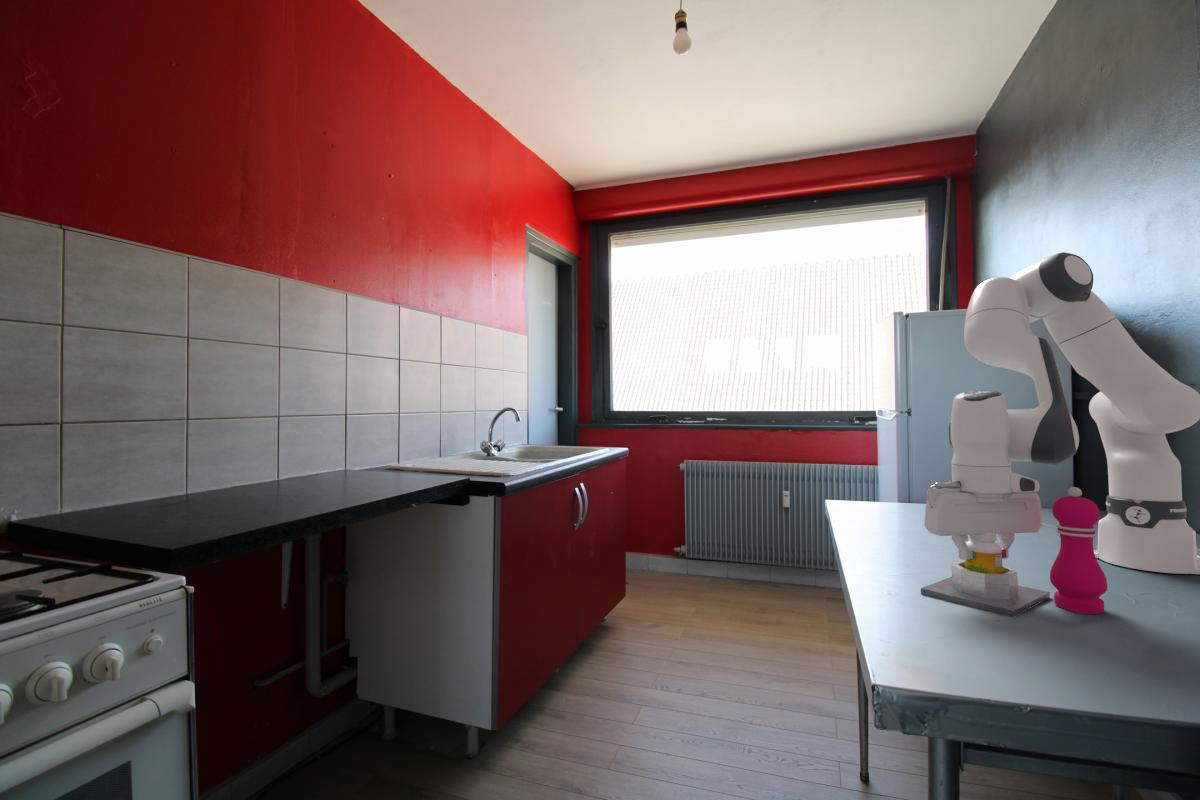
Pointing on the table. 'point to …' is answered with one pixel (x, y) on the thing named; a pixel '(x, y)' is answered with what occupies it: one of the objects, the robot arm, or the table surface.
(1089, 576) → the pepper mill
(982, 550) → the supplement bottle
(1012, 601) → the collar
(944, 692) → the table surface
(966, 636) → the table surface
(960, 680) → the table surface
